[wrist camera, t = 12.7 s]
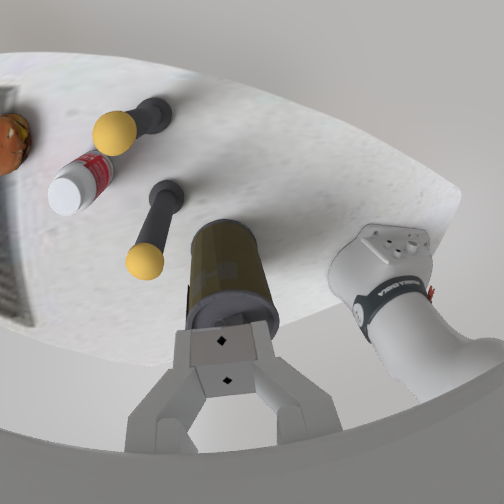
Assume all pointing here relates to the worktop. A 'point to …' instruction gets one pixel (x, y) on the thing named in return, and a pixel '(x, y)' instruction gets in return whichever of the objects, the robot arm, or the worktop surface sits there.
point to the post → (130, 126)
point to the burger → (13, 142)
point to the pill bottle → (80, 183)
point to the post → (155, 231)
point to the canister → (227, 279)
